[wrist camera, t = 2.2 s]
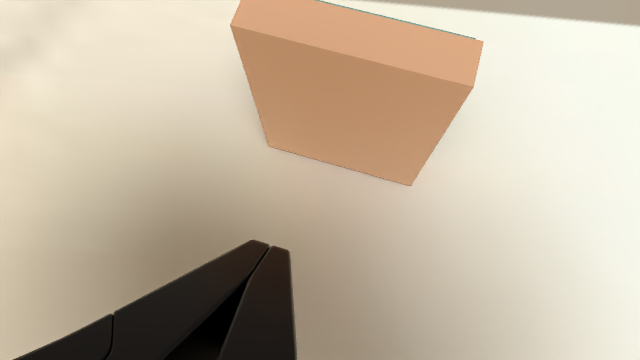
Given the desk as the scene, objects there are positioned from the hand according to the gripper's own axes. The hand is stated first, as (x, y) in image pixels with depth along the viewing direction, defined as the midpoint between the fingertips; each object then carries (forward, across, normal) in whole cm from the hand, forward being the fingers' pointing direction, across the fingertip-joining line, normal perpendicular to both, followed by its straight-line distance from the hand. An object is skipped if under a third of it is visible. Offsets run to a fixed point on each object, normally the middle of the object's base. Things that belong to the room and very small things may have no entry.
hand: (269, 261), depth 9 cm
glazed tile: (+12, 0, +2) cm, 12 cm away
